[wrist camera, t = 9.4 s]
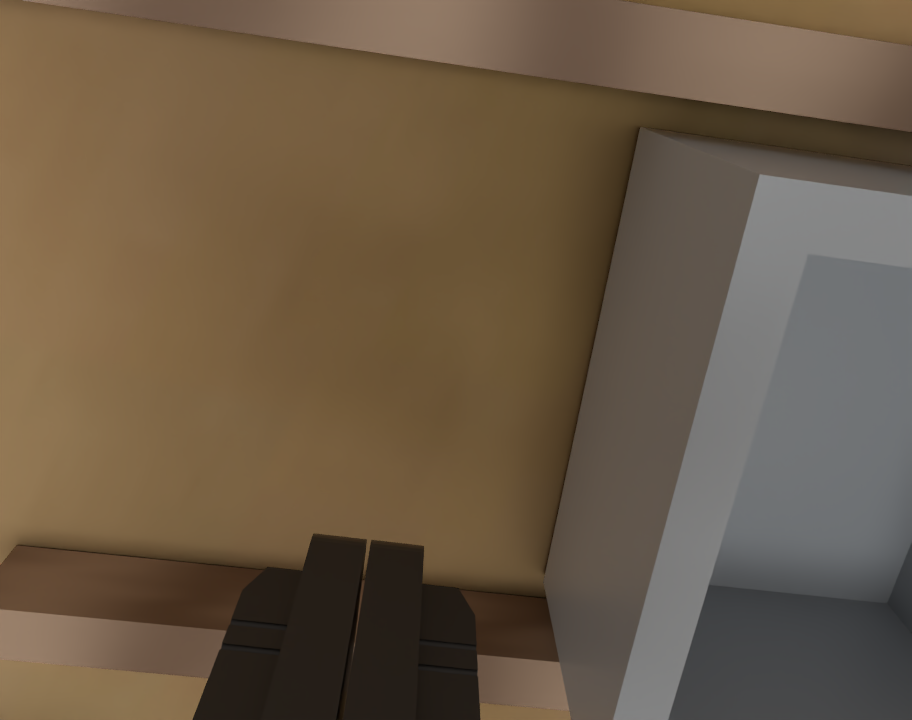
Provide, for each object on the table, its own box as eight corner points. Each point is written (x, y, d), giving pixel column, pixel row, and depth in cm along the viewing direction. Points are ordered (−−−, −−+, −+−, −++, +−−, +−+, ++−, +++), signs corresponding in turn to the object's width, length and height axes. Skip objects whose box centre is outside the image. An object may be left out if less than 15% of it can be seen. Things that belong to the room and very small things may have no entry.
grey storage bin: (1068, 188, 18) (1414, 267, 12) (894, 617, 23) (1079, 848, 16) (640, 126, 18) (759, 174, 11) (543, 581, 22) (589, 807, 16)
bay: (1158, 91, 18) (1297, 100, 15) (908, 679, 24) (972, 766, 21) (-23, -93, 16) (-123, -123, 13) (20, 593, 22) (-43, 676, 19)
